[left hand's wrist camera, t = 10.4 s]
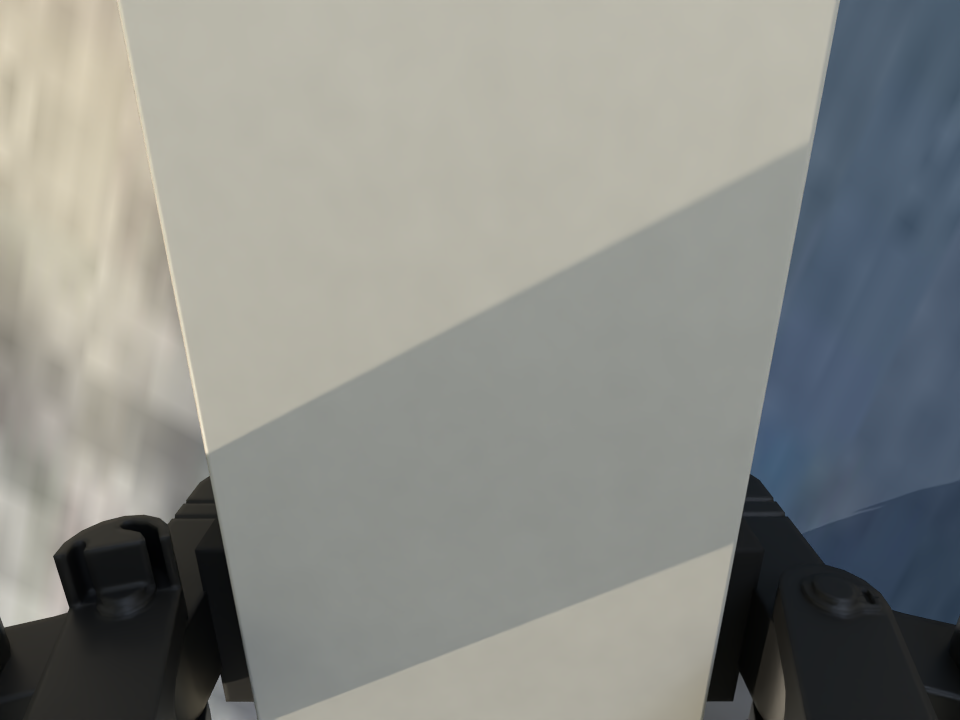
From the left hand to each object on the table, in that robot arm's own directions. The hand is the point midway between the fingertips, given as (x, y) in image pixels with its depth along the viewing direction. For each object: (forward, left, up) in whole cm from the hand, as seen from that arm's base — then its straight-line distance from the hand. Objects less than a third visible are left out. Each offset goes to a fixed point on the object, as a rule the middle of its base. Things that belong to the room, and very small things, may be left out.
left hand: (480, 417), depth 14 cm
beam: (+33, +7, -1) cm, 34 cm away
